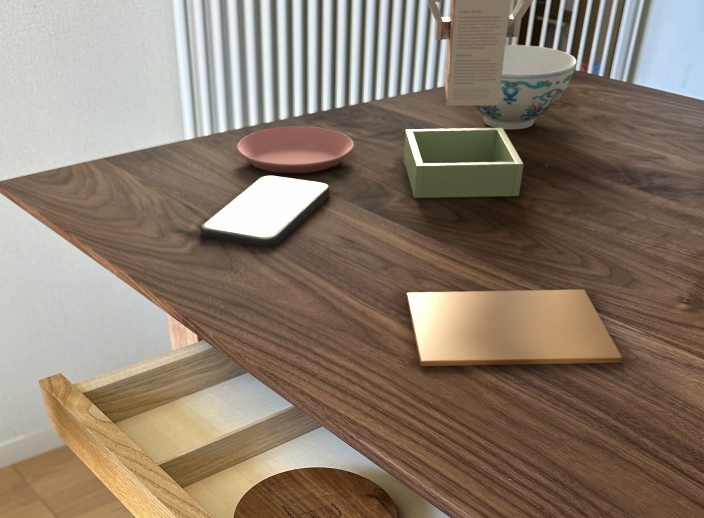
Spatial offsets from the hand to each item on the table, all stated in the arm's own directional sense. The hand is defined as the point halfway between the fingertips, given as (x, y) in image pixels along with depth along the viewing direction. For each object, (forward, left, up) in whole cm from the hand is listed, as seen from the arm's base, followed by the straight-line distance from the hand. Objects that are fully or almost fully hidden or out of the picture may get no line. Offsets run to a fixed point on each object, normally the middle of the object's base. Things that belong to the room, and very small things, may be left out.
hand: (476, 37), depth 89 cm
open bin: (0, 0, -15) cm, 15 cm away
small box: (0, 0, -6) cm, 6 cm away
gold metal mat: (+1, +36, -15) cm, 39 cm away
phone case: (+22, +10, -15) cm, 29 cm away
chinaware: (-10, -22, -15) cm, 28 cm away
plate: (+19, -8, -15) cm, 26 cm away
